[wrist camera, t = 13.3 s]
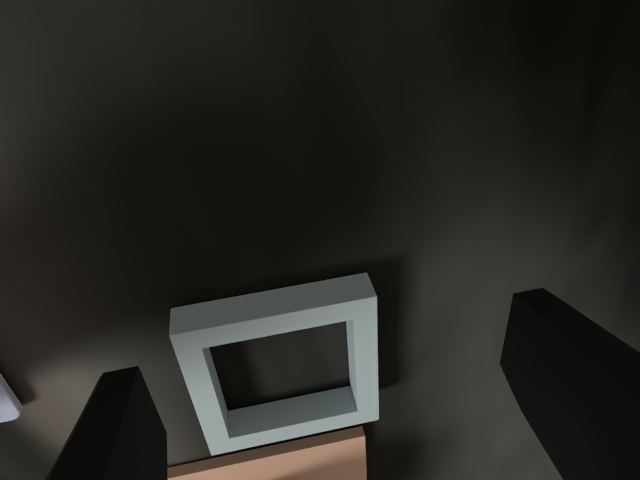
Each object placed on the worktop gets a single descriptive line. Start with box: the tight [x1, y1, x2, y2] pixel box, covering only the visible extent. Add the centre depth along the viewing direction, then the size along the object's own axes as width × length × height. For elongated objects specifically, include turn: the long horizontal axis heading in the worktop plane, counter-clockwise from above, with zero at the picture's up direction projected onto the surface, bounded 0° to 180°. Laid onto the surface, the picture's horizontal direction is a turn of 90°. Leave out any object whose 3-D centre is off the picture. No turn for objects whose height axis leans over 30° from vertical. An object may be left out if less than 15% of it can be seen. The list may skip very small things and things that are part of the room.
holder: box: [169, 272, 379, 455], centre depth 23 cm, size 8×8×2 cm
